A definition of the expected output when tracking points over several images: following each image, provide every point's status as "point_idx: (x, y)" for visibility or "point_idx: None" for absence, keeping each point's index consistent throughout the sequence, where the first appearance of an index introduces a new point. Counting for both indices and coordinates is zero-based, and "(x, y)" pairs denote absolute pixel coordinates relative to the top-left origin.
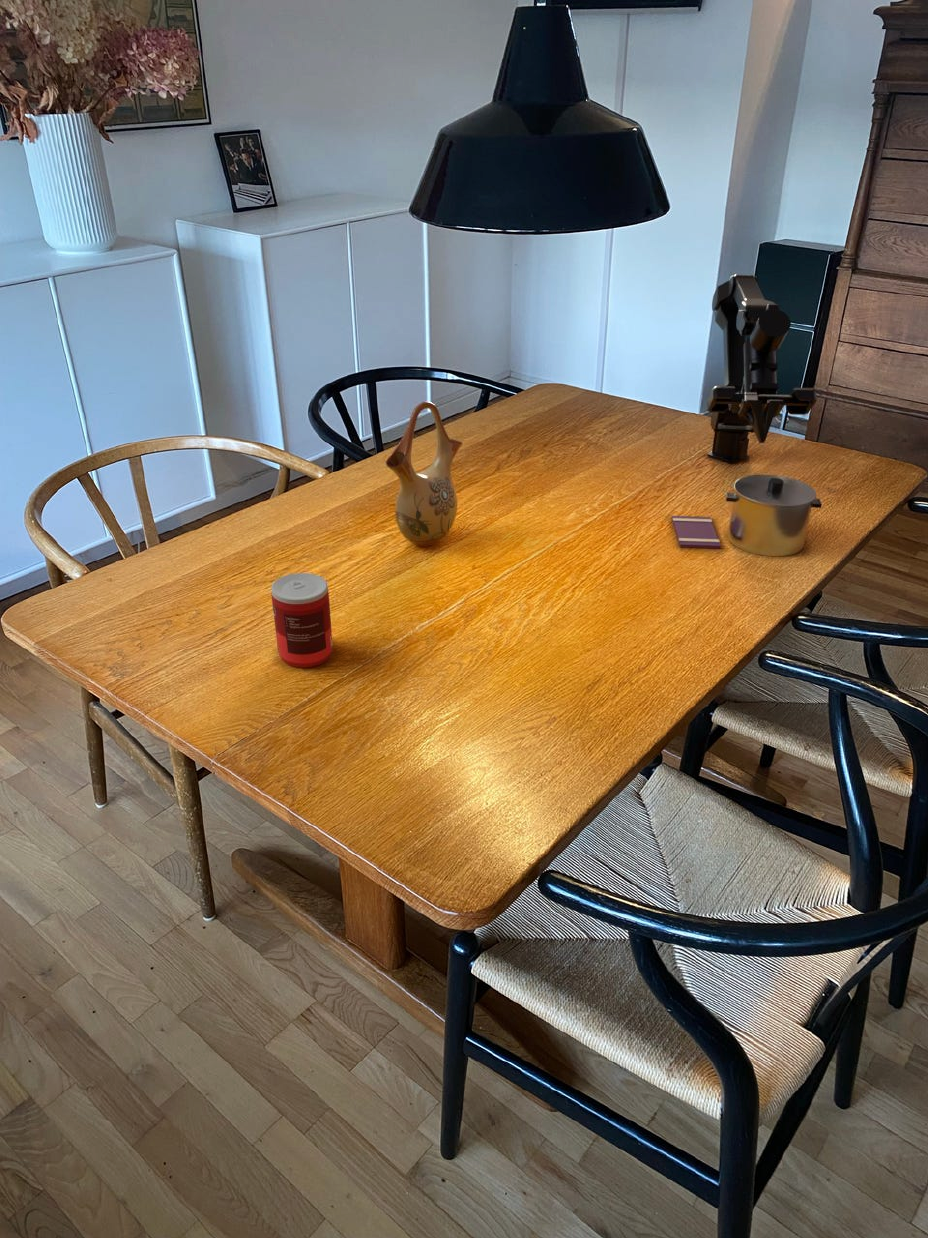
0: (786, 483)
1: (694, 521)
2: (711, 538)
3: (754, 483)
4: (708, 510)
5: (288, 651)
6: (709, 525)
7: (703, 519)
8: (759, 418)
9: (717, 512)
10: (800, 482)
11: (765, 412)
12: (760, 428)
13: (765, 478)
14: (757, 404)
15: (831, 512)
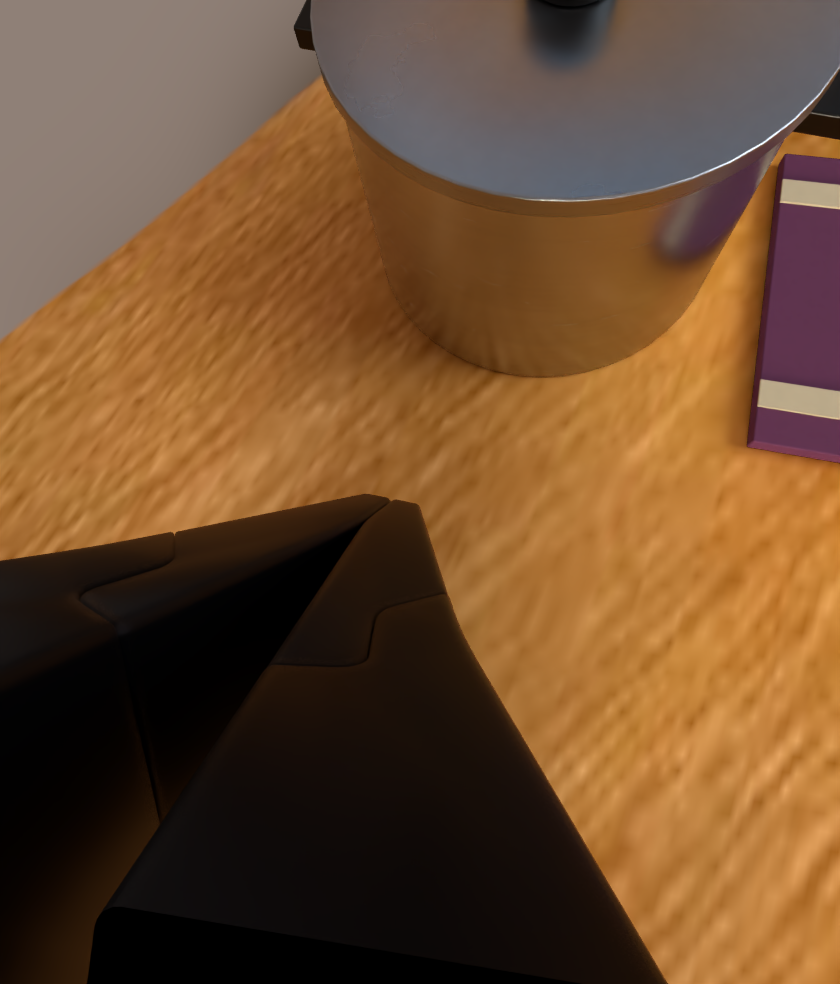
0: (447, 53)
1: None
2: (812, 218)
3: (684, 56)
4: (716, 565)
5: None
6: (784, 345)
7: (802, 408)
8: (382, 607)
9: (671, 533)
10: (343, 64)
11: (83, 878)
12: (400, 538)
13: (562, 131)
14: (356, 844)
15: (98, 462)
